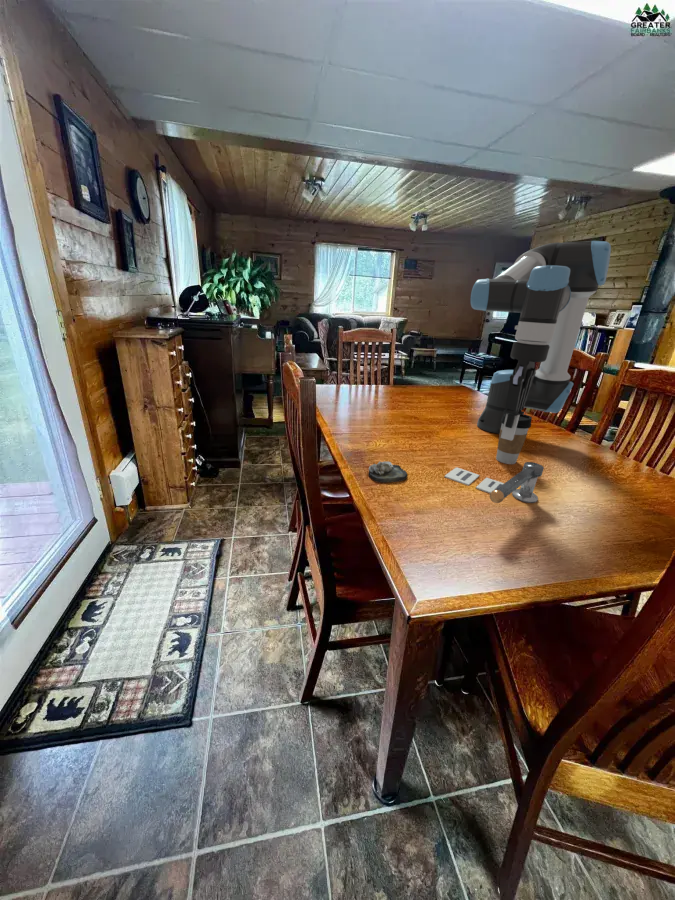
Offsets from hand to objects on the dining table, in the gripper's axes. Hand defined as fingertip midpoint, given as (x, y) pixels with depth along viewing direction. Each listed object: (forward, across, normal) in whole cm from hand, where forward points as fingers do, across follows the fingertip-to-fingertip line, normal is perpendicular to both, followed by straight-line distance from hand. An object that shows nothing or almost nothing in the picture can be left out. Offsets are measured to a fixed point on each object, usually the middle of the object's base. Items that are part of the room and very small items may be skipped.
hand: (506, 438), depth 89 cm
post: (+14, -1, +8) cm, 16 cm away
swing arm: (+8, +9, +6) cm, 14 cm away
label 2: (+14, 0, 0) cm, 14 cm away
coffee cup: (+15, -22, -4) cm, 27 cm away
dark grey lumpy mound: (+15, +14, -25) cm, 32 cm away
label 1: (+14, 0, -9) cm, 17 cm away
